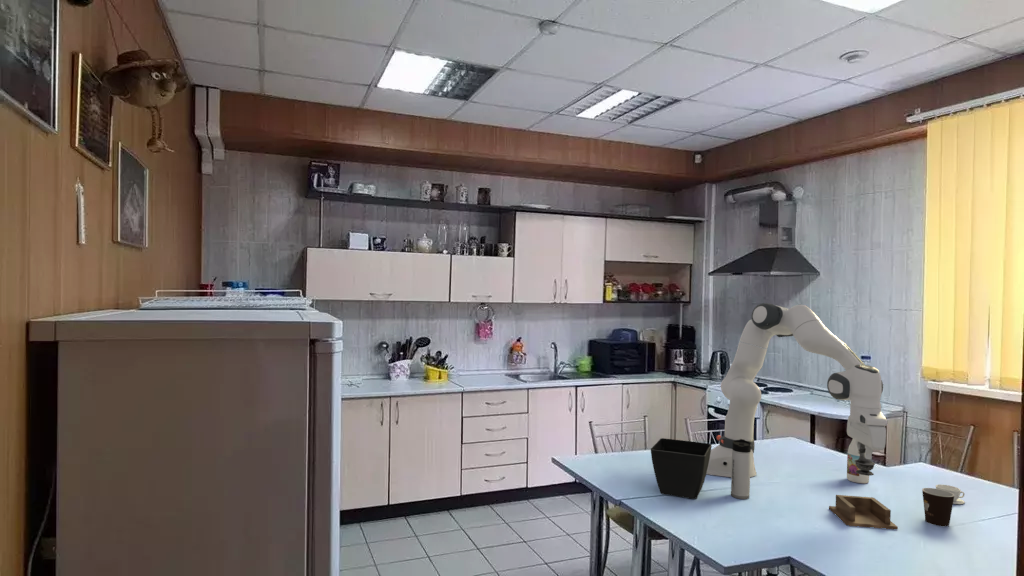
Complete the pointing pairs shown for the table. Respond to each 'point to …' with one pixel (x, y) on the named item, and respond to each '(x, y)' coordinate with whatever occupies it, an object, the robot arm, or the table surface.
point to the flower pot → (680, 466)
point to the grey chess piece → (864, 463)
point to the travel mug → (741, 469)
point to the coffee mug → (937, 506)
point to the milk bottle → (854, 465)
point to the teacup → (955, 491)
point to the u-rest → (862, 512)
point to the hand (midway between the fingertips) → (864, 456)
